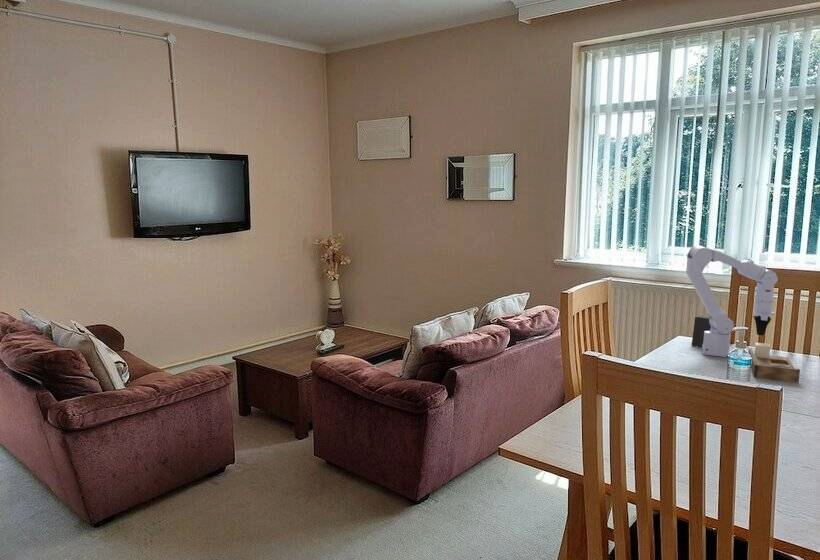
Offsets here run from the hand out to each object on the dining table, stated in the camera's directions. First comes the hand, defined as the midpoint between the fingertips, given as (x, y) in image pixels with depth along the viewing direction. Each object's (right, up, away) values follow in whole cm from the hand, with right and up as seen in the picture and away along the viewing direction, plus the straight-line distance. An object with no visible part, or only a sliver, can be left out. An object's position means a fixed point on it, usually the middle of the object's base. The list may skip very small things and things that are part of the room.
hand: (760, 334), depth 222 cm
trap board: (-5, -11, -15) cm, 19 cm away
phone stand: (-14, -6, +17) cm, 23 cm away
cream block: (-3, -8, -5) cm, 10 cm away
